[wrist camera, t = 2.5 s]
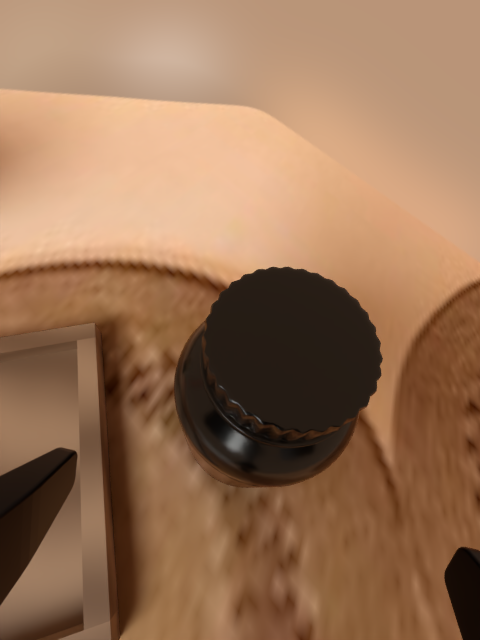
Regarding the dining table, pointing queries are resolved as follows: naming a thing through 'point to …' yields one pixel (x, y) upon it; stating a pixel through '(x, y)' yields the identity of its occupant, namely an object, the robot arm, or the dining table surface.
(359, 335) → the supplement bottle
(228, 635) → the dining table surface
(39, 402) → the tray
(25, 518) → the robot arm
